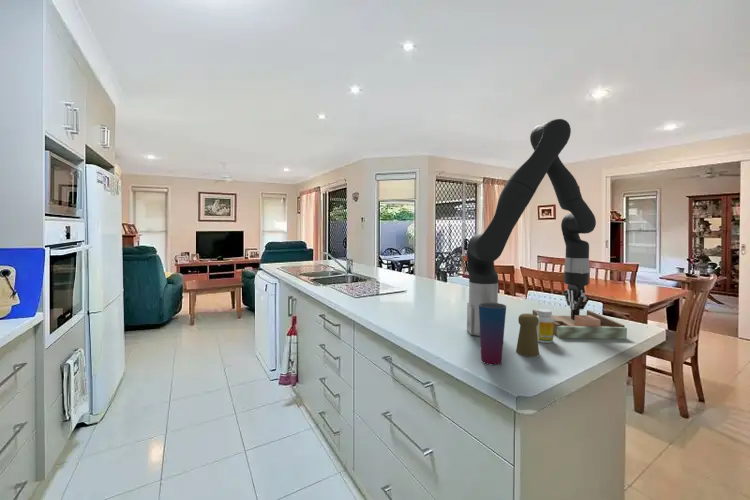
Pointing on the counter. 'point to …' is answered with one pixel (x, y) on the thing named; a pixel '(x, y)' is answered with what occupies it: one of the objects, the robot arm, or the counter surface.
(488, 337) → the cup
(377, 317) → the counter surface
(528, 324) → the cork
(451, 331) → the counter surface
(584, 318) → the block
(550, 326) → the supplement bottle
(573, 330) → the square tray
